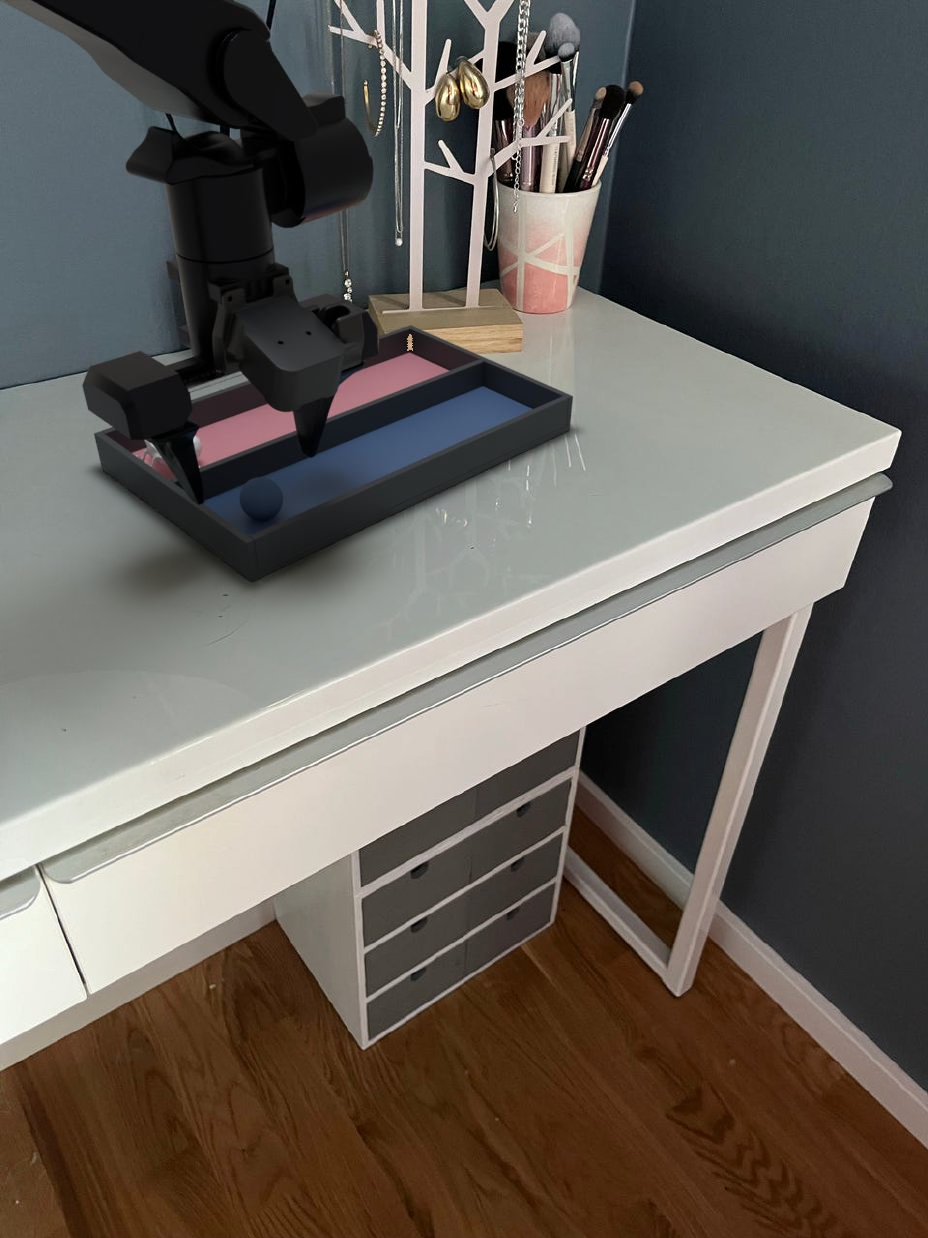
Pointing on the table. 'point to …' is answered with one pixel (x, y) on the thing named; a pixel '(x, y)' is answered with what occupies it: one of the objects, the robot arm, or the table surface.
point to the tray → (345, 449)
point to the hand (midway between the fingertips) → (255, 477)
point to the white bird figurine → (156, 456)
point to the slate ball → (261, 498)
